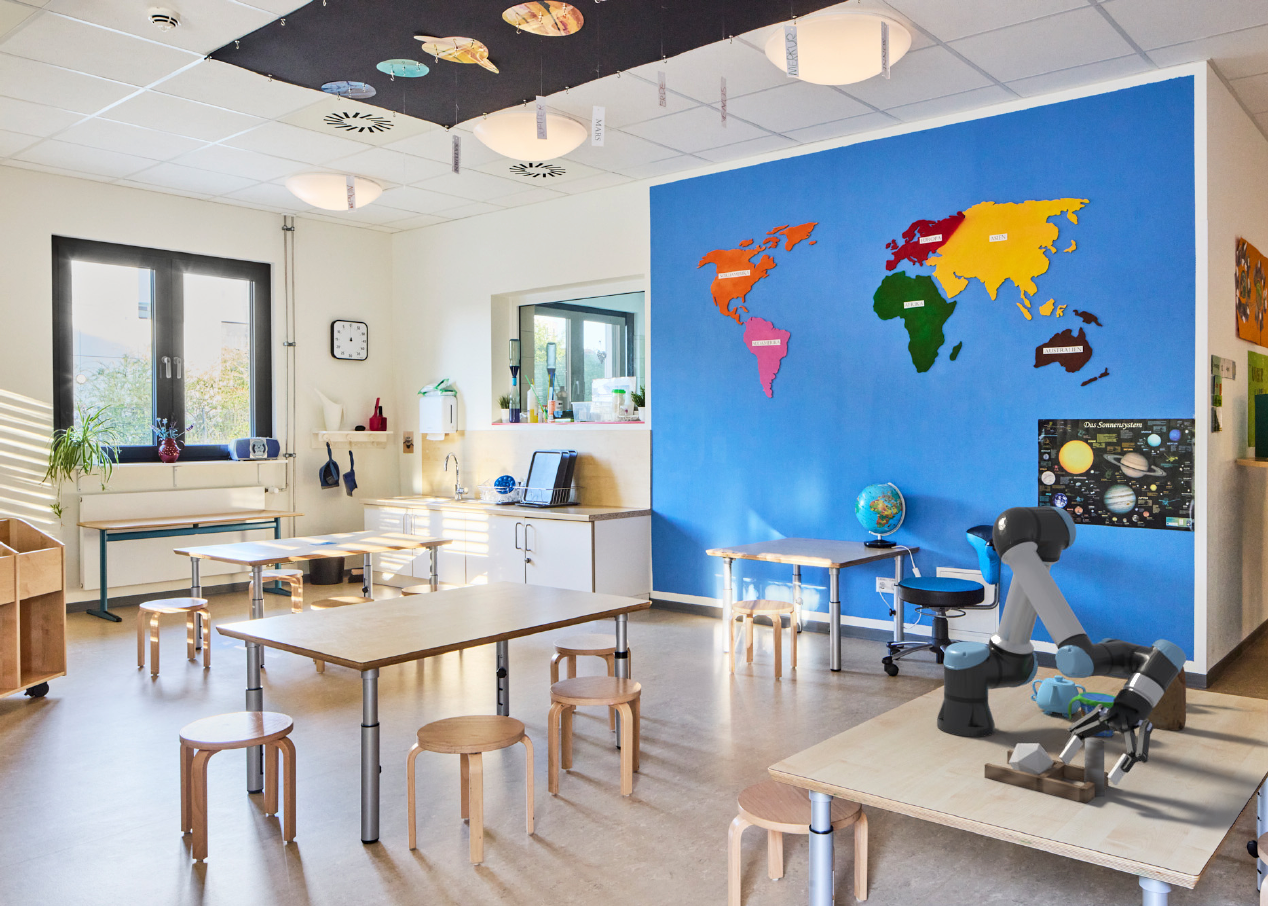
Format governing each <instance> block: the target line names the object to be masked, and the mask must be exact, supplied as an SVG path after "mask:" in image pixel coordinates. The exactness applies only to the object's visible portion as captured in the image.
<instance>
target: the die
mask: <svg viewBox="0 0 1268 906" xmlns="http://www.w3.org/2000/svg"><path fill="white" fill-rule="evenodd" d="M1013 751H1014V752H1013V754H1012V756H1011V758H1010V761H1009V764H1008V765H1010V767H1011V769H1014V770H1018V771H1022V772H1026V773H1030V774H1034V775H1038V776H1039V775H1041V774H1042V773H1044V772H1045V771H1047V770H1048V769H1050V768H1051V767H1052V764H1053V760H1054V759H1052V758H1051V756H1049V754H1048V753H1047V752H1046V750H1045V749H1044V747H1042V745H1041V744H1040V743H1039V742H1038V743H1034V742H1033V743H1024V742H1023V743H1022V742H1021V743H1016V745H1015V747H1014V749H1013Z"/></svg>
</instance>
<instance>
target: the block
mask: <svg viewBox="0 0 1268 906" xmlns="http://www.w3.org/2000/svg"><path fill="white" fill-rule="evenodd" d="M1152 709H1153V710H1152V712H1151V713H1150V715H1149V716H1148V718H1147V719H1148V720H1149V721H1150V723H1151V724H1152V725H1153V726H1154V729H1161V730H1168V731H1182V730H1184V729H1185V727H1186V720H1187V679H1186V671H1185V667H1184V666H1183V667H1182V669H1181V670H1180V673H1178V675H1177V676H1176V677H1175V679H1174V680H1173V681H1172V683H1171V684H1170V685H1169V687H1168V688H1167V690H1166V691H1165V693H1164V694H1163V696H1162V697H1161V699H1160V700H1159V701H1158V703H1157V704H1156V706H1155V707H1152Z"/></svg>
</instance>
